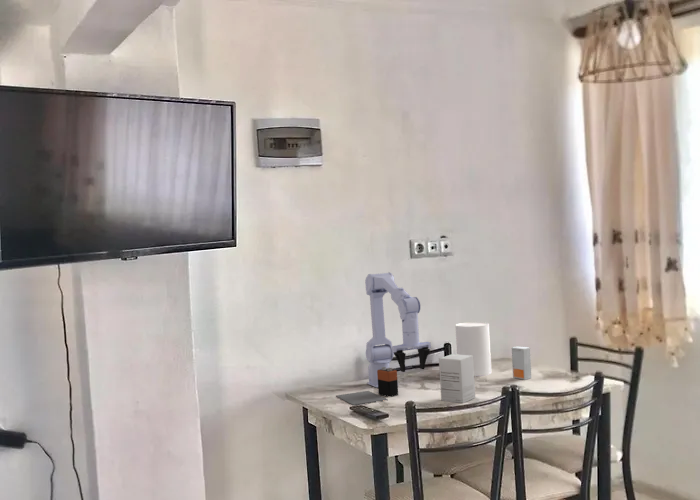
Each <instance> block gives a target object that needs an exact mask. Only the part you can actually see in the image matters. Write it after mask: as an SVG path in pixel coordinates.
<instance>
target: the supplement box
mask: <svg viewBox="0 0 700 500" xmlns="http://www.w3.org/2000/svg"><path fill="white" fill-rule="evenodd" d="M438 367H439V382H440V383H439V384H440V399H441V400H440V401H441V402H452V403H458V404H459V403H460V404H464V403H466V402H468V401H471V400H473V399H475V398H476V386H475V385H476V384H475V376H474V367H473V356H472V355H458V354H457V353H455V354H454V353H452V354H451V353H450V354H449V355H446V356H443V357H439V358H438Z"/></svg>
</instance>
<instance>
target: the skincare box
mask: <svg viewBox="0 0 700 500" xmlns="http://www.w3.org/2000/svg"><path fill="white" fill-rule="evenodd" d="M531 361H532V360H531V348H530V347H528V346H518V345H517V346H513V347H511V365H512V366H511V367H512V377H513V379H519V380H524V381H526V380H530V379H532V362H531Z"/></svg>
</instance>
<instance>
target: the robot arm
mask: <svg viewBox="0 0 700 500" xmlns="http://www.w3.org/2000/svg"><path fill="white" fill-rule="evenodd" d="M365 292H366V295H367V296H369V304H370V316H371V318H370V319H371V330H372V337H371V339H369V340H368V341H367V342H366V348H365V357H366V360H367V362H368V363H369V365H368V368H367V369H368V370H367V372H368V381H367V382H366V384H367V385H369V386H372V387H374V388H377V389H378V375H377V370H380V369H382V367H386V369H387V368H391V367H390V366H391V365H390V364H391V363H392V361H393V359H394V357H395V358H396V360H397V363H398V364H399V370H400V372H402V373H405V372H406V354H407V353H406V351H412V350H417V353H418V358H419V369H420V370H425V368H426V361H427V359H428V356H429V355H430V351H431V348H432V343H431V342H430V341H424V342H422V341H421V342H420V333H419V332H420V331H419V328H420V327H419V316H418V314H419V313H420V312H421V301H420V300H419V298H418V297H417V296H411V295H410V294H409V293H408V292H407V291H406V290H405V289H404V288H403V287H398V285H397V284H396V282H395V278H394V275H393V273H392V272H389V271H388V272H382V273H369V274H367V276H366V277H365ZM388 293H389V294H390V297H391V300H392V301H393V302H394V304H395V305H396V306H397V309H398V312H399V317H400V320H401V326H402V327H401V328H402V330H401V331H402V344H397V345H393V342H392V341H391V340H390V339H389V338H388V337H386V328H385V323H386V322H385V314H384V313H385V312H384V296H385V294H388ZM404 351H405V352H404Z"/></svg>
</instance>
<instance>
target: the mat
mask: <svg viewBox="0 0 700 500" xmlns="http://www.w3.org/2000/svg"><path fill="white" fill-rule="evenodd" d="M335 396H336V398H337V399H340V400H341V401H344V402H346V403H348V404H350V405H351V406H353V405H354V406H360V405H359V404H361V405H366V404H365V403H368V404H372V403H371V402H374V403H377V402H376V401H381V402H384V401H383V400H387V401H388V398H385V397H383V396H382V395H379V394H377V393H374V392H372V391H370V390H365V391H358V392H351V393H345V394H344V393H343V394H337V395H335Z"/></svg>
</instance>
